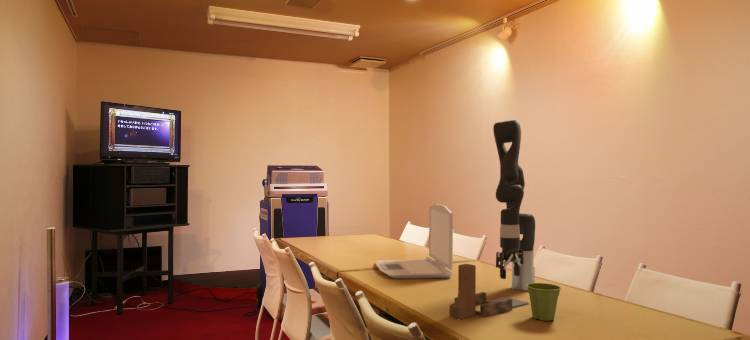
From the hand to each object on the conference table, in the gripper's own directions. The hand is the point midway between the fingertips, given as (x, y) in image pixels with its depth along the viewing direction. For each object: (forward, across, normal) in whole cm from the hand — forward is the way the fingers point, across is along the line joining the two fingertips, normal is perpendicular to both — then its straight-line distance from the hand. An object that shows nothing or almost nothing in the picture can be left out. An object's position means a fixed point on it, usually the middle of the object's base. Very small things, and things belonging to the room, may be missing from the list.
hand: (510, 277), depth 194 cm
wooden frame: (+10, +16, 0) cm, 18 cm away
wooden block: (+10, +29, +2) cm, 31 cm away
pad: (+10, 0, 0) cm, 10 cm away
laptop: (+11, -10, -70) cm, 72 cm away
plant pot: (+10, +7, +20) cm, 23 cm away
